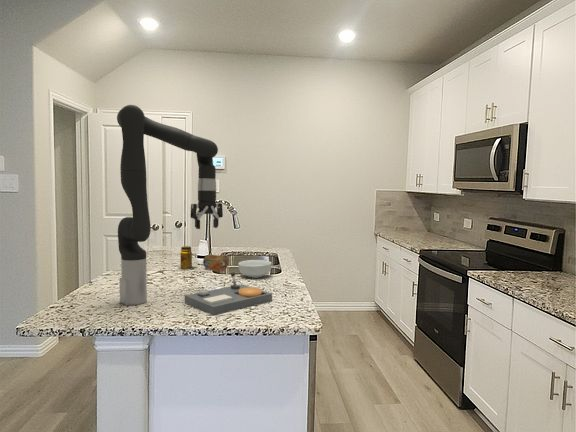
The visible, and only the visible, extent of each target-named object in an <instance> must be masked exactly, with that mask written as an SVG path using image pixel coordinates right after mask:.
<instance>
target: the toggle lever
mask: <svg viewBox="0 0 576 432" xmlns="http://www.w3.org/2000/svg"><path fill="white" fill-rule="evenodd" d="M230 276H231V278H232V285H237V280H236V273H235V272H233V271H232V272H231V273H230Z"/></svg>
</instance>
